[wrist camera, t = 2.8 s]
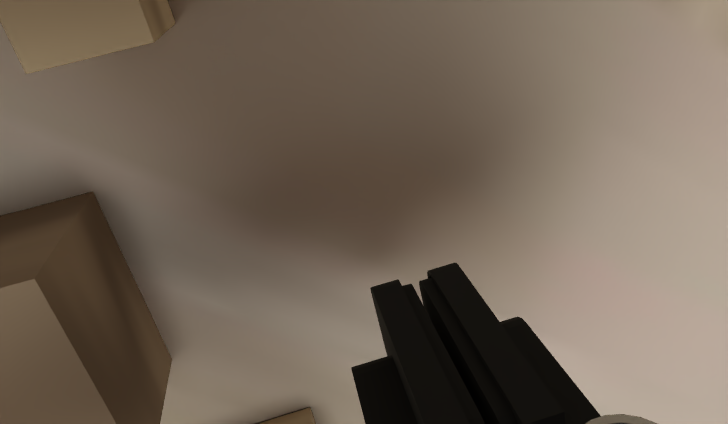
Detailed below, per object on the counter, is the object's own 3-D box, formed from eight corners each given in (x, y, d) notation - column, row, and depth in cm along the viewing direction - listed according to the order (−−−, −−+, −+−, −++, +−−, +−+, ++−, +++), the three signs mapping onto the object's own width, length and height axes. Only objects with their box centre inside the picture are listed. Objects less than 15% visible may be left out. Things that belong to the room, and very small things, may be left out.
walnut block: (-133, 249, 12) (-290, 367, 9) (94, 189, 13) (34, 278, 9) (-18, 411, 14) (-105, 560, 11) (172, 356, 15) (148, 481, 11)
